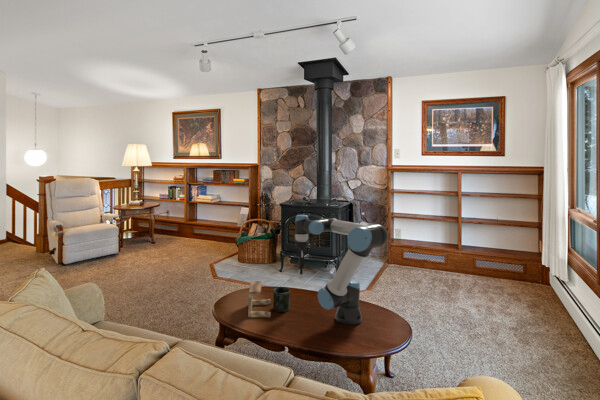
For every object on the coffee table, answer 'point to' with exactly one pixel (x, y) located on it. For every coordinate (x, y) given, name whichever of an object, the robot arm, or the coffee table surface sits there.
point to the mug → (281, 299)
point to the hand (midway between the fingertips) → (300, 278)
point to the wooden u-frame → (256, 289)
